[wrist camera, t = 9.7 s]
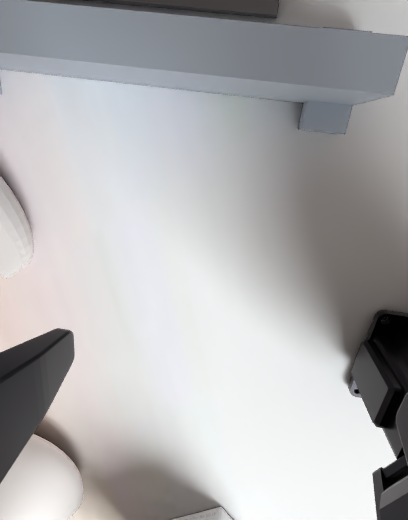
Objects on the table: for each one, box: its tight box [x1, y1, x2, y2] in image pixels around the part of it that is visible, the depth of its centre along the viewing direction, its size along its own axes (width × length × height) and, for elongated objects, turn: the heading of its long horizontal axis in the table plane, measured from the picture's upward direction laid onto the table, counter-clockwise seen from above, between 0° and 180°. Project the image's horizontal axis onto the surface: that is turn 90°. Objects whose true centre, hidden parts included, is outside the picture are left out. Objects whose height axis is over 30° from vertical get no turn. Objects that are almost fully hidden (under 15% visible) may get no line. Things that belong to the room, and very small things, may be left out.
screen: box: [0, 0, 408, 134], centre depth 13 cm, size 20×4×6 cm, turn 84°
